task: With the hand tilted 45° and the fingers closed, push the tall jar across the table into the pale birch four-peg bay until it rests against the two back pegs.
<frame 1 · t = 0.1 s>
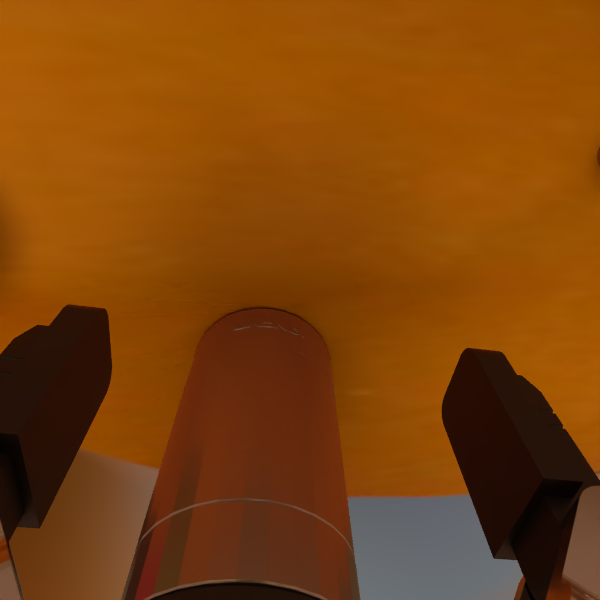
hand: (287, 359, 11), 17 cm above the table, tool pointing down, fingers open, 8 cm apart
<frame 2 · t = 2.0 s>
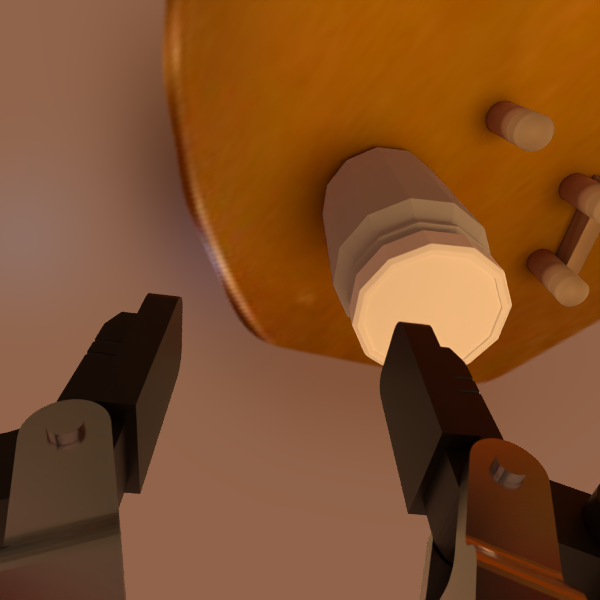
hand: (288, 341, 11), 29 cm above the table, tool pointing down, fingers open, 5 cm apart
jar: (378, 201, 40), on the table
peg bay: (501, 218, 41), on the table
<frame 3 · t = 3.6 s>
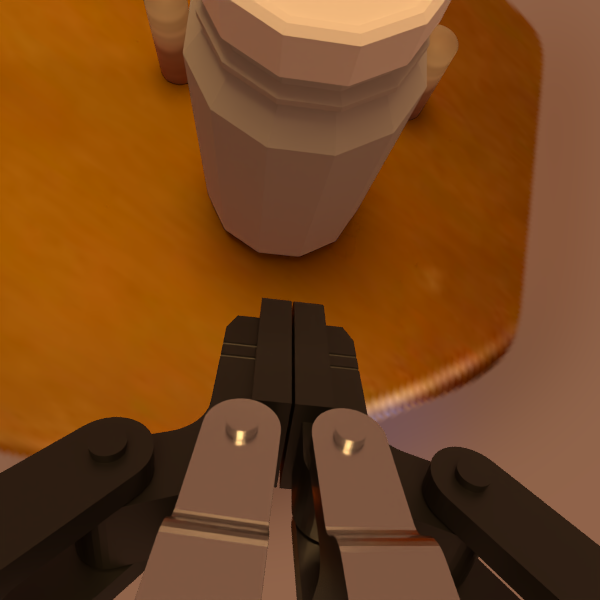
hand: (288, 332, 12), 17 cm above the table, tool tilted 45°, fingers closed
jar: (283, 193, 31), on the table
peg bay: (298, 51, 34), on the table
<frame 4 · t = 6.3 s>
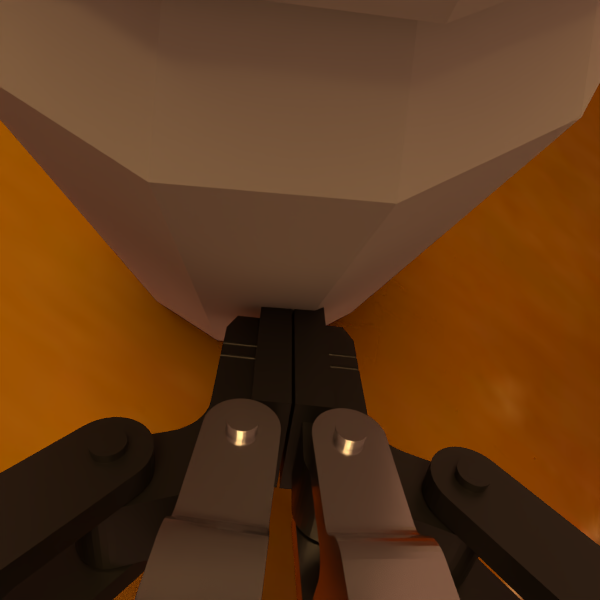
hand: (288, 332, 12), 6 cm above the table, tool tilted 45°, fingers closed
jar: (260, 229, 19), on the table, touching gripper
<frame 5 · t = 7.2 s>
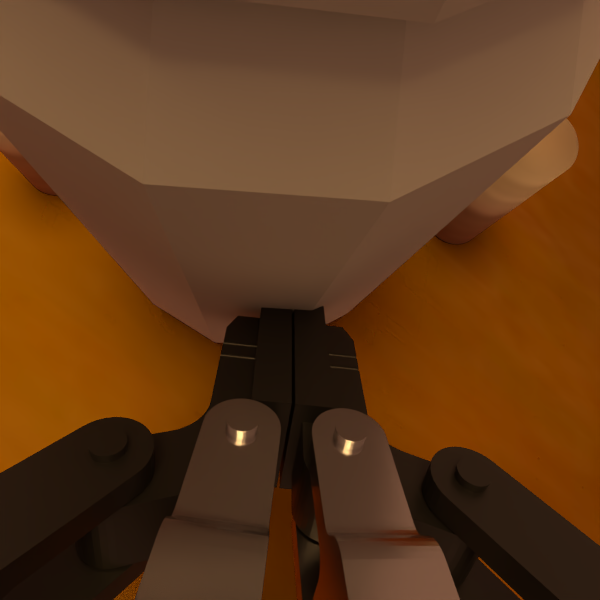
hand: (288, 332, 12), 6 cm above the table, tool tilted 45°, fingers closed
jar: (256, 230, 19), on the table, touching gripper
peg bay: (271, 127, 20), on the table
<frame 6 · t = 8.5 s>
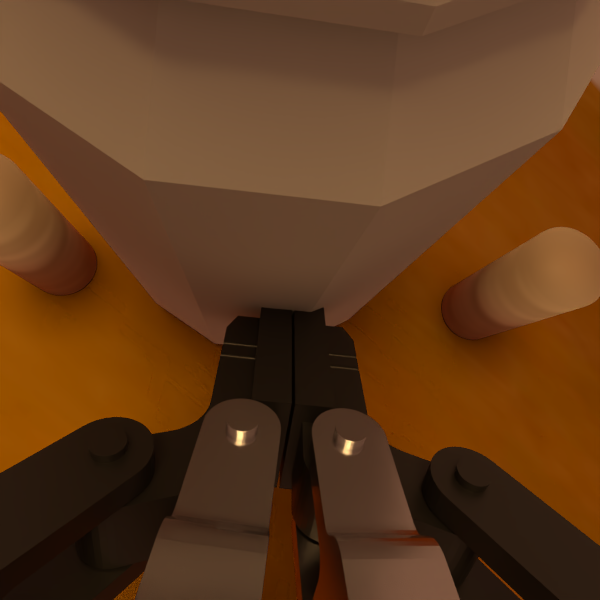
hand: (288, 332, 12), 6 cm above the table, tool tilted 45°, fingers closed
jar: (260, 235, 19), on the table, touching gripper
peg bay: (282, 217, 19), on the table
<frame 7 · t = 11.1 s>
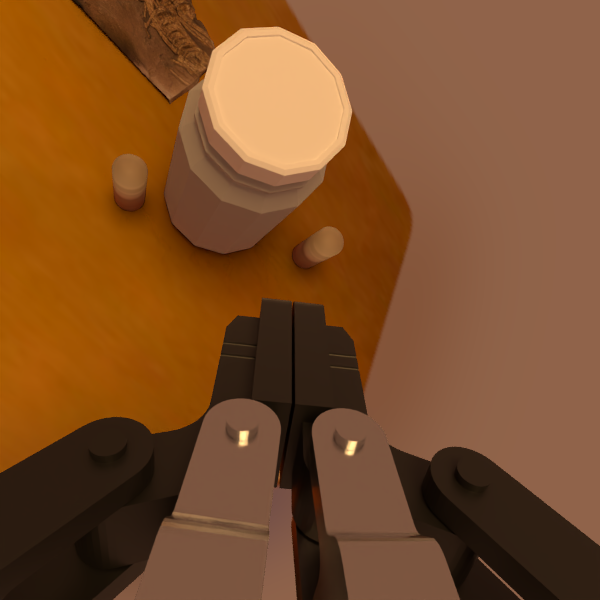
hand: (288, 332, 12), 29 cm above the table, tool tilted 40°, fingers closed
jar: (219, 203, 42), on the table
peg bay: (230, 197, 42), on the table
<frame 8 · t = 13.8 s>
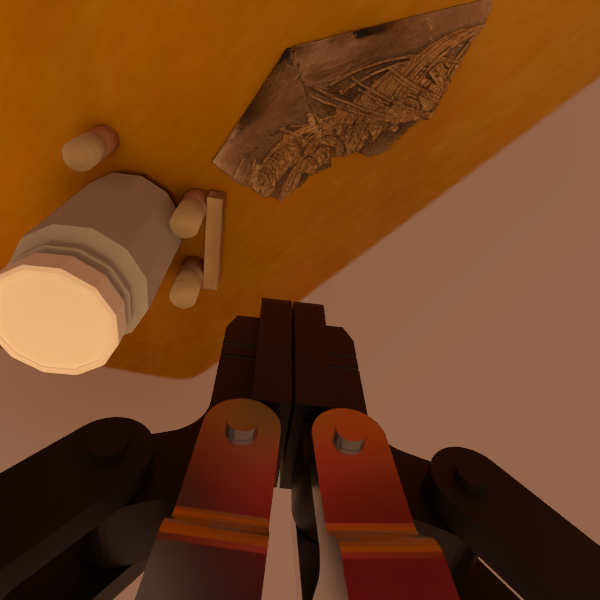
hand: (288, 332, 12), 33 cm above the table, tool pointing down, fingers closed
jar: (134, 218, 45), on the table
wooden fragment: (345, 96, 40), on the table
peg bay: (142, 228, 45), on the table
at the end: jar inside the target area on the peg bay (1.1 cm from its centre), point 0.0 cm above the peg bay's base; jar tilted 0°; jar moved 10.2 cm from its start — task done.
